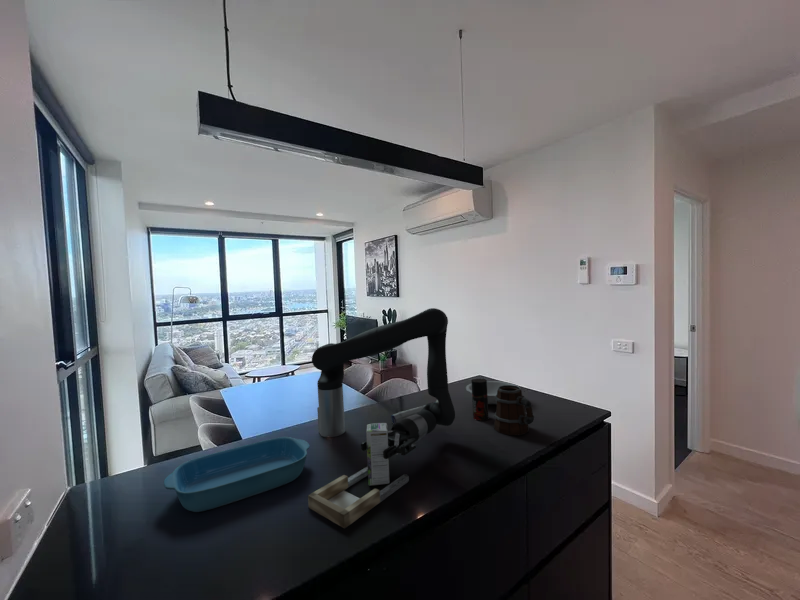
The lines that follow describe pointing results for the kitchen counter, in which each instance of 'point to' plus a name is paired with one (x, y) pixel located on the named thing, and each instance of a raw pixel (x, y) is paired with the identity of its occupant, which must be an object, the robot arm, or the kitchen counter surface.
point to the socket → (341, 502)
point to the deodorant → (480, 399)
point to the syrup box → (377, 454)
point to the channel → (384, 492)
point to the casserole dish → (237, 473)
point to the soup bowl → (491, 389)
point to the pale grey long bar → (406, 413)
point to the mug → (512, 411)
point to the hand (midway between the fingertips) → (372, 451)
